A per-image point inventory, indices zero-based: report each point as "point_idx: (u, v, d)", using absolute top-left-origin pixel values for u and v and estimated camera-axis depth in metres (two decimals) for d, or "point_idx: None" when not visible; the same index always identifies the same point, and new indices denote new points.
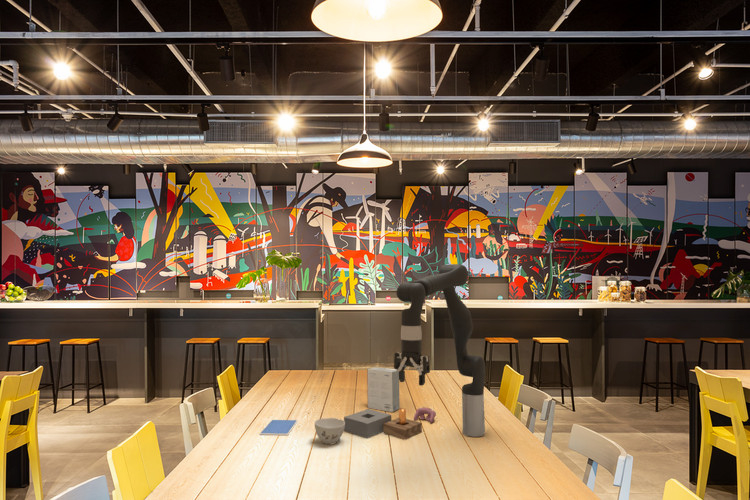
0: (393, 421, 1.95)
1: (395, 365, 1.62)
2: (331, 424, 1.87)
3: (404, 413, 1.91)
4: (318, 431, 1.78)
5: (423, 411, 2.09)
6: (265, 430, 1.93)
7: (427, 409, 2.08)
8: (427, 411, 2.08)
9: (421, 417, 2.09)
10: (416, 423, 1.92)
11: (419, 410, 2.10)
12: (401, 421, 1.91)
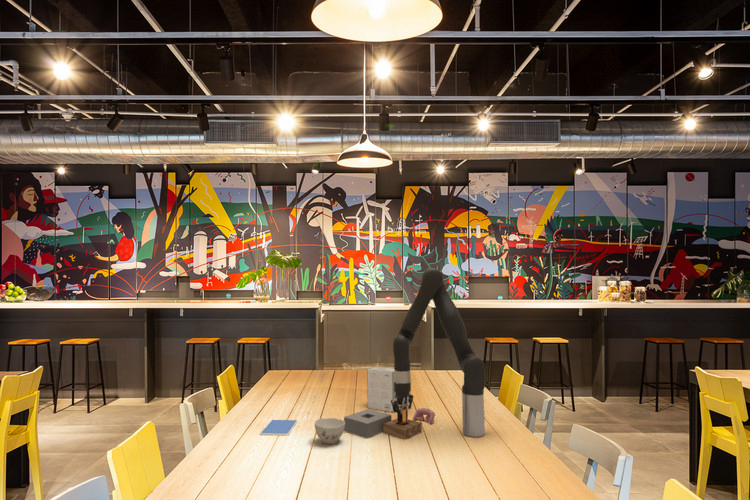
0: (393, 421, 1.95)
1: (398, 410, 1.89)
2: (331, 424, 1.87)
3: (404, 413, 1.91)
4: (318, 431, 1.78)
5: (422, 412, 2.08)
6: (265, 430, 1.93)
7: (426, 410, 2.07)
8: (426, 412, 2.07)
9: (420, 418, 2.08)
10: (416, 423, 1.92)
11: (418, 411, 2.09)
12: None
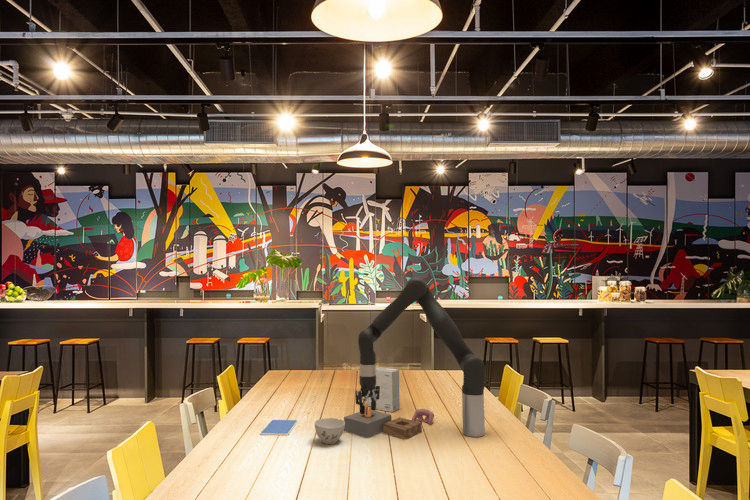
0: (393, 421, 1.95)
1: (360, 402, 1.92)
2: (331, 424, 1.87)
3: (369, 410, 1.95)
4: (318, 431, 1.78)
5: (421, 413, 2.06)
6: (265, 430, 1.93)
7: (425, 411, 2.06)
8: (425, 413, 2.06)
9: (419, 419, 2.07)
10: (416, 423, 1.92)
11: (417, 412, 2.08)
12: None
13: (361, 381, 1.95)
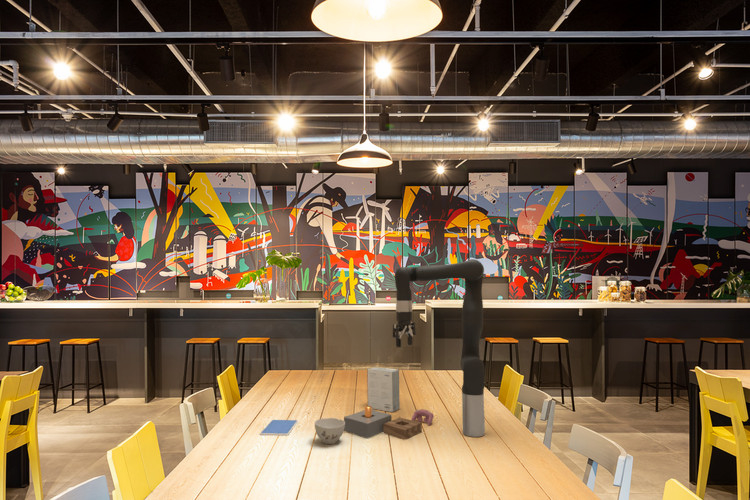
0: (393, 421, 1.95)
1: (397, 334, 1.97)
2: (331, 424, 1.87)
3: (369, 410, 1.95)
4: (318, 431, 1.78)
5: (421, 413, 2.06)
6: (265, 430, 1.93)
7: (425, 411, 2.05)
8: (425, 413, 2.05)
9: (419, 419, 2.06)
10: (416, 423, 1.92)
11: (417, 412, 2.07)
12: None
13: (398, 316, 2.01)
